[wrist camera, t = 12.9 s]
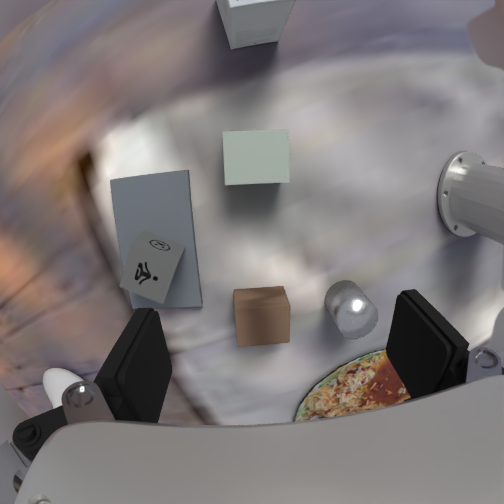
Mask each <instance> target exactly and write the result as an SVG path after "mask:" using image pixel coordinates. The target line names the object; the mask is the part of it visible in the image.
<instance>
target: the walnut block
mask: <svg viewBox="0 0 504 504" xmlns="http://www.w3.org/2000/svg"><path fill="white" fill-rule="evenodd" d="M234 310H235V322H236V333H237V345H238V347H241V346H255V345H267V344H278V343H288V342H289V341H290V303H289V301H288V298H287V295H286V293H285V290H284V287H283V286H276V287H263V288H249V289H234Z"/></svg>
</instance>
